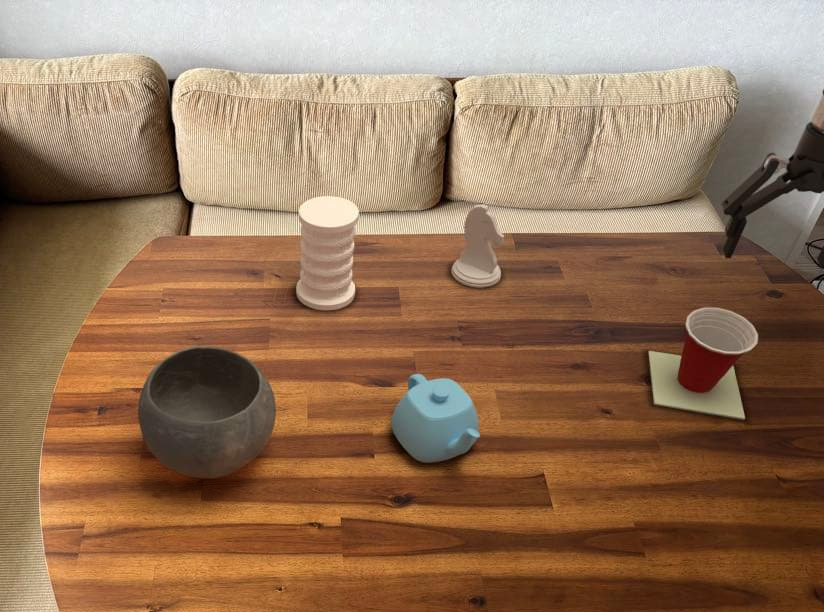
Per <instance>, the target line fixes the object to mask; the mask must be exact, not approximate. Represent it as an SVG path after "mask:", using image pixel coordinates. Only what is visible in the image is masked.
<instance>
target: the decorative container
mask: <svg viewBox="0 0 824 612" xmlns="http://www.w3.org/2000/svg"><path fill="white" fill-rule="evenodd" d="M359 216H360V210H359V207H358V206H357V205H356V204H355V203H354V202H352V201H350V200H349V199H346V198H343V197H339V196H332V195H325V196H317V197H313V198H310V199H308V200H306V201H304V202H303V203H302V204H301V205H300V206H299V209H298V221H299V222H300V224H301V226H300V235H301V241H300V244H299V247H300V252H301V255H300V258H299V262H300V263H299V264H300V266H301V267H300V270H299V271H300V272H299V277H300V279H298V281H297V283H296V286H295V287H296V288H295V293H296V298H297V299H298V300H299V302H300V303H302V304H303V305H304V306H306V307H308V308H310V309H314V310H317V311H334V310H339V309H342V308H345V307H347V306H349V305H350V304H351V303H352V302H353V300H354V299H355V295H356V285H355V282H354V281H353V269H352V268H353V265H354V263H355V262H354V256H353V254H354V251H355V246H356V245H355V241H354V239H355V236H356V231H357V230H356V225H357V224H358V222H359Z"/></svg>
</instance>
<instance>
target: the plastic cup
mask: <svg viewBox="0 0 824 612" xmlns="http://www.w3.org/2000/svg"><path fill="white" fill-rule="evenodd" d="M685 329H686V332H685V338H684V339H685V340H684V344H683V348H682V352H681V355H680V356H681V361H680V367H679V371H678V381H679V383H680V384H681V385H682V386H683V387H684V388H686V389H688V390H690V391H693V392H696V393H705V392H709V391H710V390H711V389H713V388H714V387H715V385H716V384H717V383H718V382H719V380H720V379H721V378H722V377H723V376H724V375H725V374H726V373H727V372H728V371H729V369H730V368H731V367H732V366H734V365H735V364H736V362H737V361H738V360H739V359H740V358H741V357H742V356H743V355H744V354H746V353H748V352H750V351H752V349H753V348H755V346H757V344H758V341H759V333H758V332H757V330H756V328H755V326H754V324H752V323H751V322H750V321H749V320H748V319H746V318H745V317H744V316H742V315H740V314H738V313H736V312H734V311H732V310H730V309H729V310H728V309H724V308H721V307H702V308H698V309H695V310H693V311H691V313H689V315H687V317H686V321H685Z"/></svg>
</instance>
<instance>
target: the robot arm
mask: <svg viewBox="0 0 824 612" xmlns="http://www.w3.org/2000/svg"><path fill="white" fill-rule="evenodd" d="M809 120H810V122H808V123H807V124H806V125H805V127H804V130H803V132H802V134H801V136H800V138H799V141H798V143H797V145H796V146H795V147H796V148H795V150H794V152H793V153H792V155H791V156H789V157H788V158H787V157H782V156H777V154H776V152H770V153H767V155H766V157H765V158H764V160H763V161H762V163H761V165H760V166H759V167H758V168H757V169H756V170H755V171H754V172H753V173H752V174H751V175H750V176H749V177H747V178H746V179H745V180H744V181H743V182H742V183H741V184H740V185H739V186H738V187H737V188H736V189H735V190H733V191H732V192H731V193H730V194H729V195H728V196H727V197H726V198H725V199H724V200H722V202H721V204H720V205H721V208H722V211H723V214H724V215H725V216H729V218H728V221H727V223H726V226H725V228H724V233H725V236H726V237H727V238H726V240H725V243H724V245H723V248H722V251H723V254H724V258H725V259H732V257H733V254H734V252H735V251H736V248H737V245H738V244H739V241H740V239H741V237H742V235H743V232H744V230H745V228H746V225H747V223H748V220H747V217H748V216H750V215H751V214H752V213H754V212H756V211H757V210H760V209H761V208H763V207H765V206H766V205H768V204H769V203H771V202H773V201H774V200H776V199H778V198H779V197H781V196H782V195H787V194H789V193H791V192H793V191H794V190H796V191H797V192H799V193H800V192H801V193H806V192H807V193H808V192H812V193H815V194H823V193H824V89H822V92H821V94H820V95H819V98H818V100H817V101H816V103H815V106H814V108H813V110H812V112H811V114H810V117H809ZM782 169H785V170H786V171H785V172H783V173H782V174H780V175H779V176H777V178H776V179H775V180H774V181H772V182H771V183H769V184H768V185H766V186H764V187H763V188H761V187H762V186H763V185H765V184H766V183H767V182H768V181H769V180H770V179H771V178H772V177H773V175H774V174H778V173H779V172H780V171H781V170H782ZM816 261H817V263H818V265H819V268H820V269H823V270H824V245H823V246H822V248H821V250H820V252H819V254H818V256H817V257H816Z"/></svg>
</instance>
